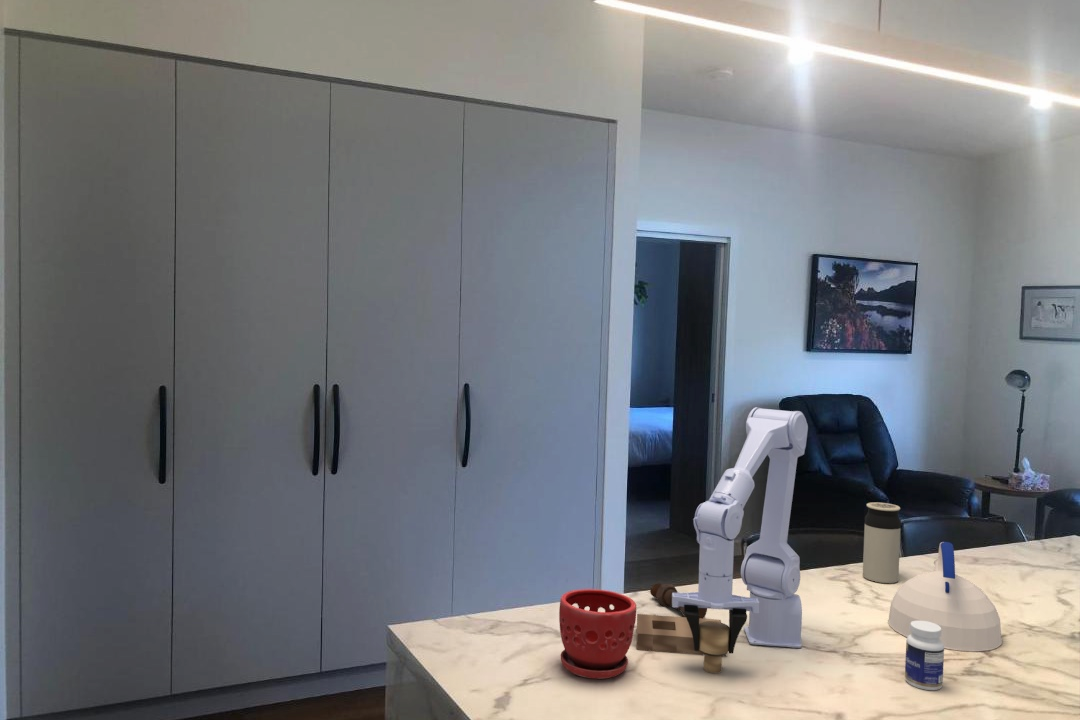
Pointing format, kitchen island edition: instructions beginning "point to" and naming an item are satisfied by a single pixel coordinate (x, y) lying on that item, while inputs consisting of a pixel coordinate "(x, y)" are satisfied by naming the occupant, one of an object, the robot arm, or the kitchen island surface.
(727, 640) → the oak peg
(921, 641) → the pill bottle
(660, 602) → the bolt
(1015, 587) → the kitchen island surface
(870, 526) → the travel mug
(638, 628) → the brown flat rectangular block
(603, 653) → the plant pot
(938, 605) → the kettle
